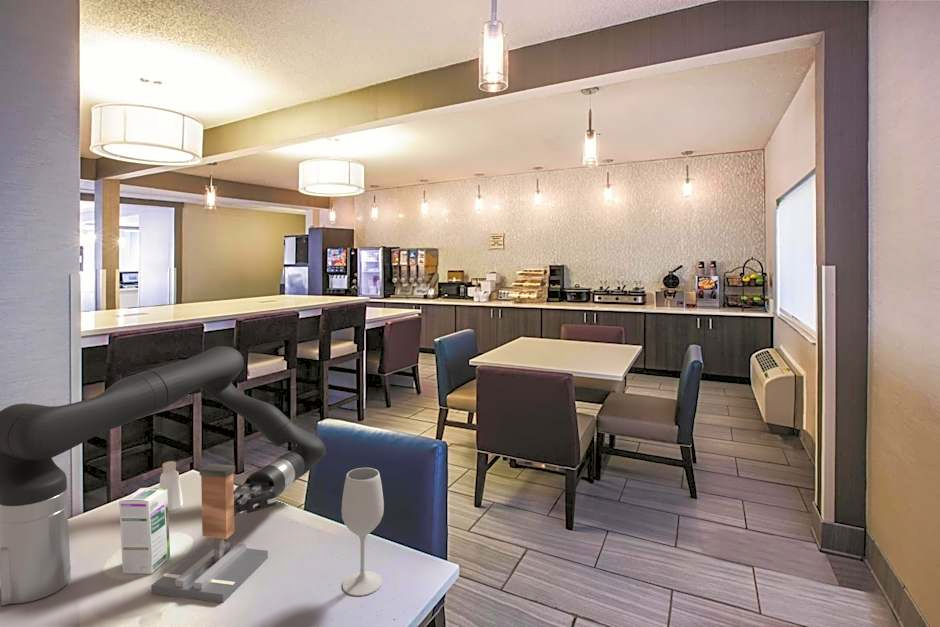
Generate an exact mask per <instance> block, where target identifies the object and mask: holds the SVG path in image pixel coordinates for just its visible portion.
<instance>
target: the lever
mask: <svg viewBox="0 0 940 627" xmlns="http://www.w3.org/2000/svg"><path fill="white" fill-rule="evenodd" d="M198 471H199V476H200V477H201V478H200V479H201V481H200V482H201V524H202V525H201V529H202V530H201V532H202V534H201V535H202V537H207V538H213V545H214V562H218V561H219V560H220V559H221V558H222V557H223V556H224V542H225V541H224V540H227V539H229V537H231V536H232V535H233V534H234V533H235V516H234V490H235V488H234V487H235V486H234V483H235V482H234V477H235V476H234V473H236V465H231V464H230V465H229V464H220V463H219V464H218V463H217V464H216V463H208V464H207V465H204V466H202V467H201V468H199V470H198Z"/></svg>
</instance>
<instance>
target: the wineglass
mask: <svg viewBox="0 0 940 627" xmlns="http://www.w3.org/2000/svg"><path fill="white" fill-rule="evenodd" d="M380 474H381V473H380V472H379V470H378V469H376V468H372V467H359V468H354V469H352V470H349V471H348V472H347V473H346V475H345V481H344V485H343V492H342V498H341V499H342V500H341V519H342V520H343V523H344V526H345V527H346V528H347V529H348V530H349V531H350V532H351V533H353V534H354V535H356V536H358V537H359V540H360V571H357V572H353V573H352V574H349V575H348V576H347V577H346V578H345V579H344V580H343V581H342V590H343V591H344V592H345V594H348V595H350V596H354V597H364V596H368V595H371V594H373V593H375V592H377V591H379V589H380V588H381V587H382V584H383V578H382V576H381V575H380V574H378V572H374V571H370V570H365V560H366V558H365V552H366V551H365V547H366V546H365V544H366V543H365V542H366V537H367V536H368V535H369V534H370V533H371V532H373V531H374V530H375V529H376V528H377V526H379V524H380V523H381V522H382V518H383V516H384V512H385V511H384V509H385V508H384V507H385V502H384V493H383V485H382V479H381V476H380Z"/></svg>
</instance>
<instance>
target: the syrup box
mask: <svg viewBox="0 0 940 627" xmlns="http://www.w3.org/2000/svg"><path fill="white" fill-rule="evenodd" d="M169 517H170V516H169V511H168V495H167V489H165V488H159V487H139V489H138V490H136V491H135V492H133V493H131V494H129V495H128V496H125V497H124V498H123V499H121V500H119V521H120V523H119V524H120V541H121V543H120V545H121V560H122V561H121V562H122V563H121V564H122V573H123V574H131V575H152V574H154V572H155V571H156V570H157V569H159V568H160V567H161V566H162V565H163V564H164V563H165V562H167V560H169V559H170V557H171V547H170V546H171V544H170V542H171V541H170V523H169Z"/></svg>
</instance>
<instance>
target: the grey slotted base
mask: <svg viewBox="0 0 940 627" xmlns="http://www.w3.org/2000/svg"><path fill="white" fill-rule="evenodd" d="M268 558H269V551H268V550H265V549H257V548H256V549H255V548H248V547H247V543H240V542H239V543H237V544H236V545H235V546H231V542H230V541H224V556H223V557H222V558H221V559H220V560H219V561H218V562H214V543H213V544H211V543H203V544H201V546H200V547H198V548H197V549H196V550H194V551H193V552H192V553H191V554H190V555H188V556H187V557H185V558H184V559H183V560H182V561H180V562H179V563H177V565H175V566H174V567H173V568H171V569H170V570H169V571H168V572H166V573H164V574H163V575H162V576H161V577H160V578H158V579H157V580H156V581H155V582H153V583H152V584H151V586H150V590H151V592H150V593H151V594H152V595H153V594H155V595H160V596H161V595H162V596H168V597H169V596H170V597H176V598H177V597H178V598H183V599H184V598H185V599H192V600H199V601H200V600H201V601H207V602H214V603H215V602H216V603H222V604H223V603H225V602H226V601H227V599H228V598H230V596H232V594H233V593H235V592H236V590H238V589H239V588H240V586H241V585H243V583H245V581H247V579H248V578H249V577H250V576H251V575H253V573H255V572H256V570H258V568H260V567H261V566H262V565H263V563H264V562H266V560H268Z"/></svg>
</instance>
